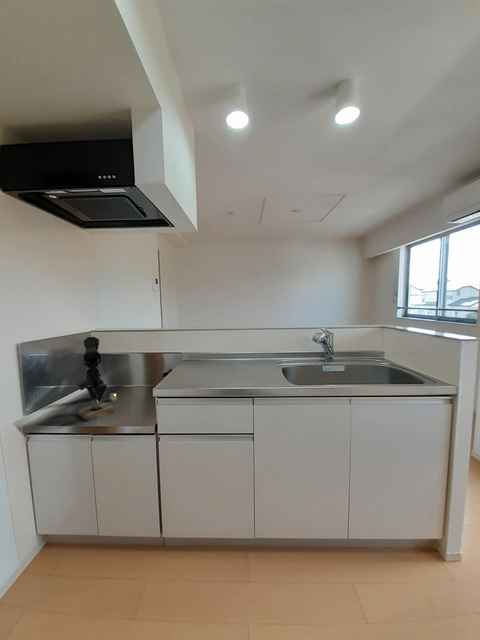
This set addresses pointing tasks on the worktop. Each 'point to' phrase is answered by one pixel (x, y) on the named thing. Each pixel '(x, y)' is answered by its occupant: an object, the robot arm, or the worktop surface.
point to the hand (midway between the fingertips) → (95, 399)
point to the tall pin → (95, 405)
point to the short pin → (113, 397)
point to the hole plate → (91, 415)
